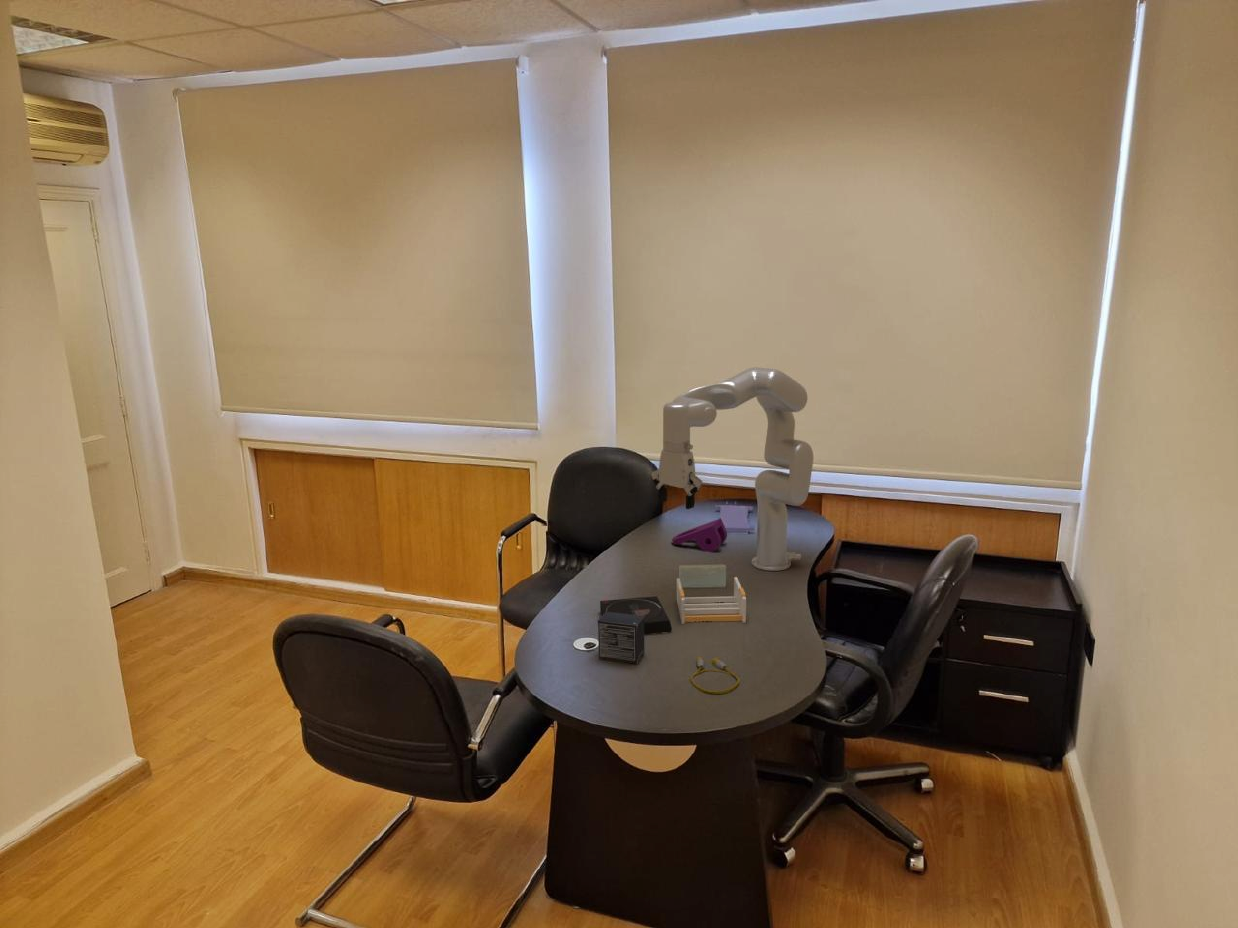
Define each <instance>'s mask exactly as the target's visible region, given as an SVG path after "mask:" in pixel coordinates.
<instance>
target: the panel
mask: <svg viewBox="0 0 1238 928" xmlns="http://www.w3.org/2000/svg"><path fill="white" fill-rule="evenodd" d="M678 567H679V568H678V569H679V571H678V573H679V576H678V578H680V582H681V587H682V589H690V588H691V589H694V588H695V589H696V588H698V589H699V588H726V586H727V583H726V582H727V566H726V564H693V565H692V564H690V565H689V564H688V565H687V564H685V565H682V564H681V565H678Z"/></svg>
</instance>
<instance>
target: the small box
mask: <svg viewBox="0 0 1238 928" xmlns="http://www.w3.org/2000/svg"><path fill="white" fill-rule="evenodd" d="M597 627H598V629H597V630H598V637H597V638H598V659H599V660H605V661H614V662H620V663H628V664H636V665H638V664H639V662H640V661H641V659H642V658H643V657H644V655H645V635H644V616H638V615H630V614H622V613H613V612H605V613H604V614H603V615H602V616H600V617H599V619H598V620H597Z"/></svg>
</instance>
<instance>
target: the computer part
mask: <svg viewBox="0 0 1238 928" xmlns="http://www.w3.org/2000/svg"><path fill="white" fill-rule="evenodd" d="M725 503H726V504H723V505H715V507H714V509H716V510H719V519H720V518H721V520H722V522H723V524H724V526H725V529H726V531H727V533H748V534H749V531H755V526H749V521H748V518H749V511H753V510H754V506H751V505H750V506H749V505H737V501H734V505H729V504H728V503H729V501H726V502H725ZM747 517H748V518H747Z"/></svg>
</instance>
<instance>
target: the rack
mask: <svg viewBox="0 0 1238 928" xmlns="http://www.w3.org/2000/svg"><path fill="white" fill-rule="evenodd" d="M733 580H734V581H733V596H696V597H694V596H692V597H687V596H686V597H685V593H684V592H685V591H684V588H682V587H681V582H680V578H679V577H677V578H676V603H677V609H678V612H679V617H680V623H681V625H685V623H696V622H697V623H700V622H702V621H704V622H705V621H712V622H742V623H744V624H745V623H747V622H746V620H747V617H746V616H747V598H746V597H747V596H746V592H745V589H744V587H742V585H741V584H740V580H739V579H738V577H737V576H735V577H733ZM715 602H716V603H715ZM717 602H719V603H717ZM720 602H724V603H720ZM695 621H696V622H695ZM699 621H700V622H699ZM704 622H703V623H704ZM705 623H706V622H705Z"/></svg>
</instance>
